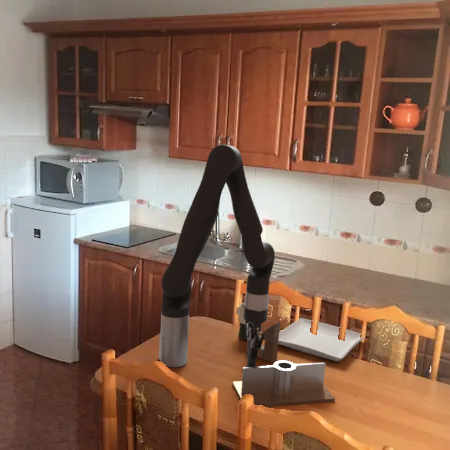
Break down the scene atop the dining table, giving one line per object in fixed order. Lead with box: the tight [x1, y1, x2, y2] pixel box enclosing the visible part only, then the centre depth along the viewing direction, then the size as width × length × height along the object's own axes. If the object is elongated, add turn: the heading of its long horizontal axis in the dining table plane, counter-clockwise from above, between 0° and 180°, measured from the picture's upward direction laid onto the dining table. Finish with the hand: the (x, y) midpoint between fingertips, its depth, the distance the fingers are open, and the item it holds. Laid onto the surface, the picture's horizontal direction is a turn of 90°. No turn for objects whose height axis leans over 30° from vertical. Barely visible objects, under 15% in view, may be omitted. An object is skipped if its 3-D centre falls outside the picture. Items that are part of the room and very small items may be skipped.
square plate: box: [278, 317, 364, 362], centre depth 199 cm, size 27×27×4 cm
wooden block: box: [246, 321, 281, 364], centre depth 184 cm, size 4×11×18 cm, turn 52°
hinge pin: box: [246, 336, 257, 367], centre depth 171 cm, size 3×3×10 cm
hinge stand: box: [232, 360, 336, 408], centre depth 161 cm, size 28×14×9 cm, turn 103°
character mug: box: [235, 302, 250, 341], centre depth 200 cm, size 11×7×13 cm, turn 50°
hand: (252, 355), depth 171 cm, fingers closed on hinge pin, 2 cm apart
